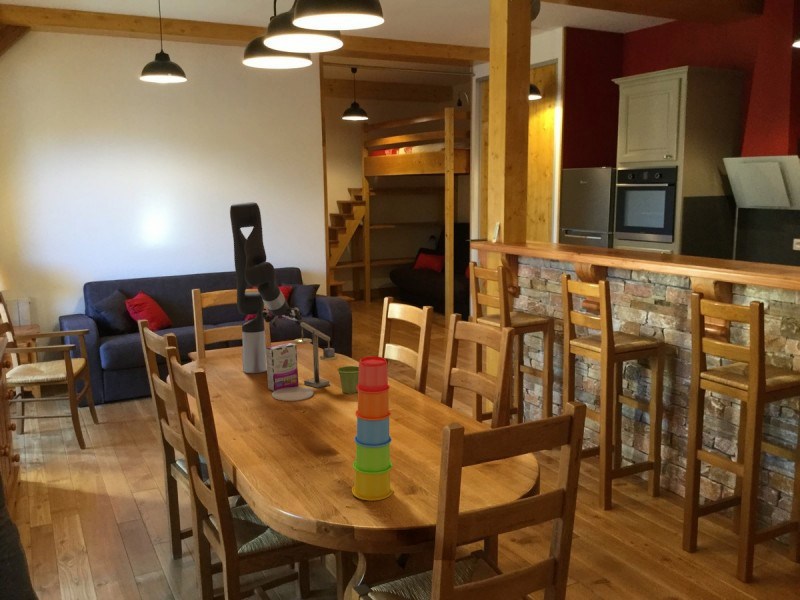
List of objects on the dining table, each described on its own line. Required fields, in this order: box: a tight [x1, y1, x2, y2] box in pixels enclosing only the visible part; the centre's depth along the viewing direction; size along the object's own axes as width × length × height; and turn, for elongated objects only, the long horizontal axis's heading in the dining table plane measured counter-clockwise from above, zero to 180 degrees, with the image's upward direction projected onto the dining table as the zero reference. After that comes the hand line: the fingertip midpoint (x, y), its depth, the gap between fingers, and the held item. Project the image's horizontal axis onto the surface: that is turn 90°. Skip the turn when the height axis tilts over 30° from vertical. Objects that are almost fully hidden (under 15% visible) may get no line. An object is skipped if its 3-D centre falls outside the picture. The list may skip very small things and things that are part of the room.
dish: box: [271, 386, 314, 402], centre depth 266 cm, size 15×15×1 cm
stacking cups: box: [351, 355, 394, 502], centre depth 178 cm, size 10×10×35 cm
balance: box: [293, 321, 339, 389], centre depth 278 cm, size 22×7×24 cm, turn 47°
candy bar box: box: [265, 342, 299, 392], centre depth 275 cm, size 11×5×16 cm, turn 132°
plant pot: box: [337, 365, 359, 395], centre depth 269 cm, size 9×9×9 cm
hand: (287, 324), depth 279 cm, fingers open, 8 cm apart
